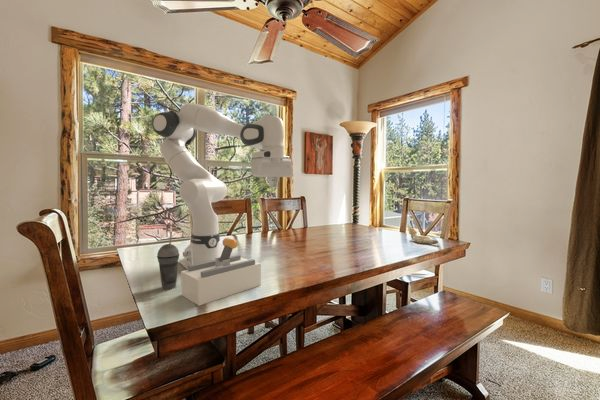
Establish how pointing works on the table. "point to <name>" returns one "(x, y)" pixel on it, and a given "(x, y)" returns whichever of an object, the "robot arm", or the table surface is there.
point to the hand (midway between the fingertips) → (273, 187)
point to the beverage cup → (168, 264)
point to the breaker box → (219, 282)
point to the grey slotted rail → (220, 269)
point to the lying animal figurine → (420, 237)
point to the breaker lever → (228, 248)
